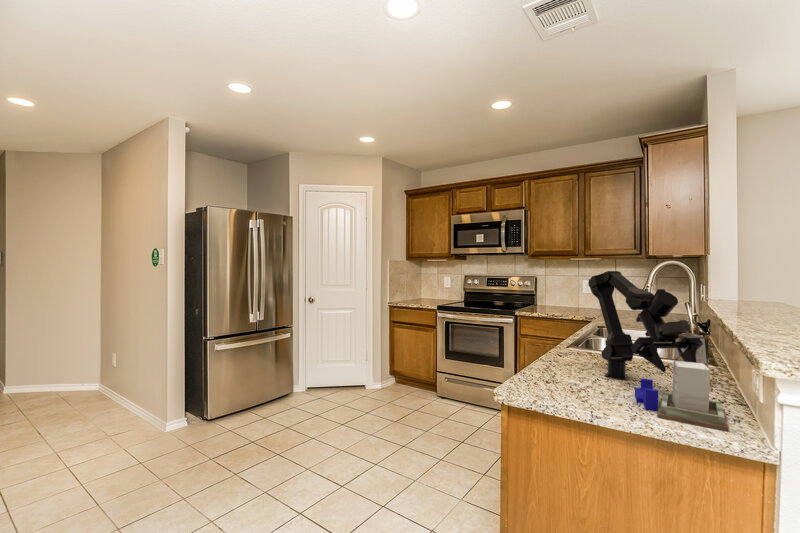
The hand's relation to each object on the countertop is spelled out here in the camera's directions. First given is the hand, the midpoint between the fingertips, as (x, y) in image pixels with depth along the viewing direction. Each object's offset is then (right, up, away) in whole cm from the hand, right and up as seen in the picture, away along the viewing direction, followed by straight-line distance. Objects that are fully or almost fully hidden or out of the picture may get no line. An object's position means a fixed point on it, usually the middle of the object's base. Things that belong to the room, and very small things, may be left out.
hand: (680, 371), depth 114 cm
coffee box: (+22, -11, +27) cm, 36 cm away
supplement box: (0, -10, -3) cm, 10 cm away
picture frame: (0, -11, -4) cm, 12 cm away
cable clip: (-7, -11, +5) cm, 14 cm away
